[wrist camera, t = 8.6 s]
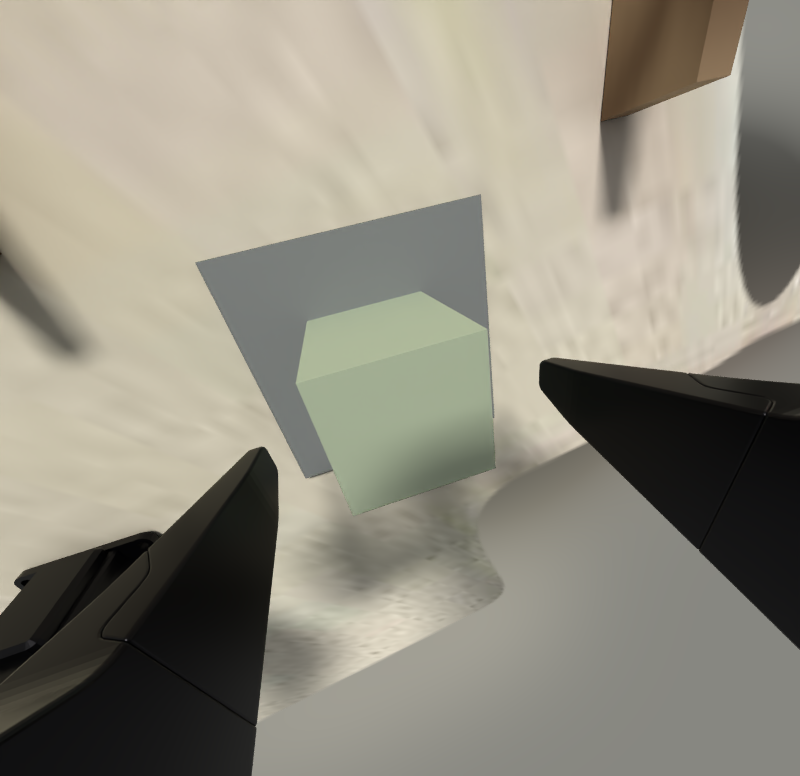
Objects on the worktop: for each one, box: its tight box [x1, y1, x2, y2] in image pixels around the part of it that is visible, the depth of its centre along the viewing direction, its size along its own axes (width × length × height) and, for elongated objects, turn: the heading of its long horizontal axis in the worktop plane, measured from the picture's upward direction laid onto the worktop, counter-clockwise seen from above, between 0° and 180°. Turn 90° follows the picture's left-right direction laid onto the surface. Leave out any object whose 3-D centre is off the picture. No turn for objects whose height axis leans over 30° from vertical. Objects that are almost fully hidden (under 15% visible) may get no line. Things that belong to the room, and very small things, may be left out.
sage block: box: [296, 291, 496, 516], centre depth 11 cm, size 5×5×6 cm
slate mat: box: [196, 194, 494, 478], centre depth 14 cm, size 11×11×1 cm
